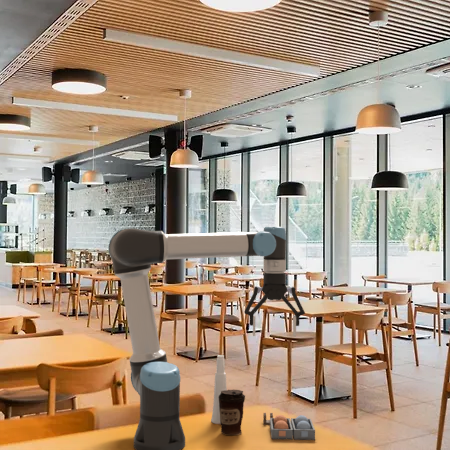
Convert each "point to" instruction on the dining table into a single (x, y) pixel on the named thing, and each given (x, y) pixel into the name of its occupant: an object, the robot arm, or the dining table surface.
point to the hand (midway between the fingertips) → (274, 335)
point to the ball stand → (267, 422)
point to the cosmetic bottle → (218, 387)
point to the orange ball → (281, 425)
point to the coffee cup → (231, 411)
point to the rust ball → (278, 418)
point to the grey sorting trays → (292, 431)
